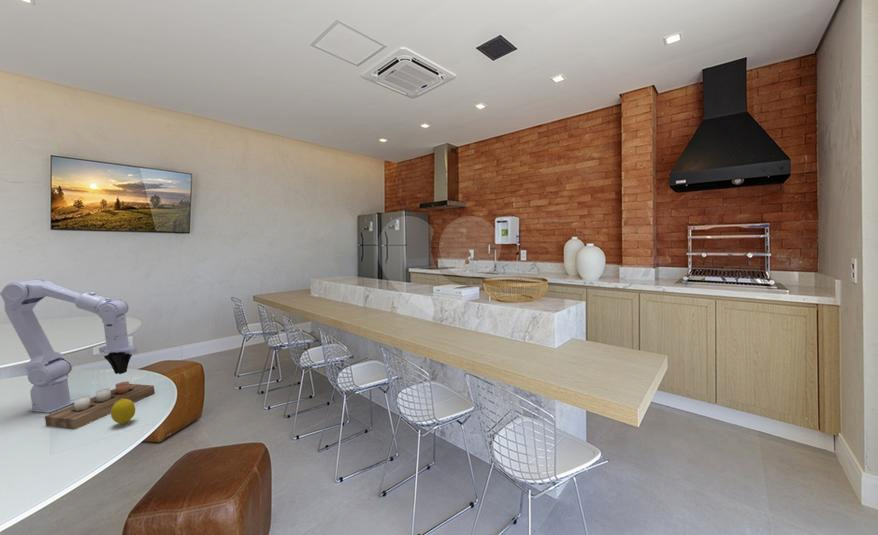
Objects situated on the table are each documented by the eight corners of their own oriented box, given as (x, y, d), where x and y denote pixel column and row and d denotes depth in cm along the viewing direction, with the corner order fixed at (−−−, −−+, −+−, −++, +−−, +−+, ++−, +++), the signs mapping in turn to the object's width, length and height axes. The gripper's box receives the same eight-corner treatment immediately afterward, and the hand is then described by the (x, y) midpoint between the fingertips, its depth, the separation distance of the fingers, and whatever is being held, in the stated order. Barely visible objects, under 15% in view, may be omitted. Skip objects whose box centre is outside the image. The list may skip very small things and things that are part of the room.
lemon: (122, 429, 105) (119, 403, 104) (107, 427, 106) (104, 402, 106) (141, 419, 111) (138, 395, 110) (127, 418, 112) (124, 394, 111)
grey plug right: (71, 410, 112) (70, 401, 111) (85, 405, 115) (84, 396, 115) (80, 411, 111) (79, 402, 111) (93, 406, 114) (92, 397, 114)
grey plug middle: (93, 401, 117) (92, 393, 117) (105, 396, 121) (104, 388, 121) (102, 402, 117) (101, 393, 116) (114, 397, 120) (113, 389, 120)
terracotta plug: (113, 393, 123) (112, 385, 123) (124, 389, 127) (123, 381, 127) (121, 394, 123) (120, 386, 122) (132, 389, 126) (131, 381, 126)
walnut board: (46, 425, 109) (44, 416, 108) (128, 391, 132) (128, 383, 132) (75, 429, 106) (74, 419, 106) (154, 393, 130) (153, 385, 129)
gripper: (86, 337, 120) (91, 376, 122) (120, 339, 117) (125, 378, 119) (110, 332, 127) (114, 368, 128) (142, 333, 124) (146, 370, 125)
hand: (121, 372), depth 124 cm, fingers closed
